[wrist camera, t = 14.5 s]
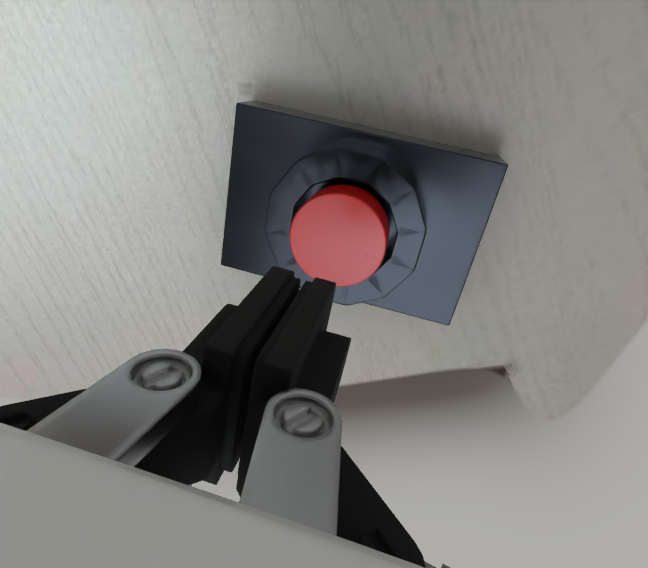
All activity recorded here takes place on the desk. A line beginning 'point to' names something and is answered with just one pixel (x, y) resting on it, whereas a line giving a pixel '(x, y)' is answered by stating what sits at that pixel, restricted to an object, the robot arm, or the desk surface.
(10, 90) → the desk surface
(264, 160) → the button box
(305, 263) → the button
